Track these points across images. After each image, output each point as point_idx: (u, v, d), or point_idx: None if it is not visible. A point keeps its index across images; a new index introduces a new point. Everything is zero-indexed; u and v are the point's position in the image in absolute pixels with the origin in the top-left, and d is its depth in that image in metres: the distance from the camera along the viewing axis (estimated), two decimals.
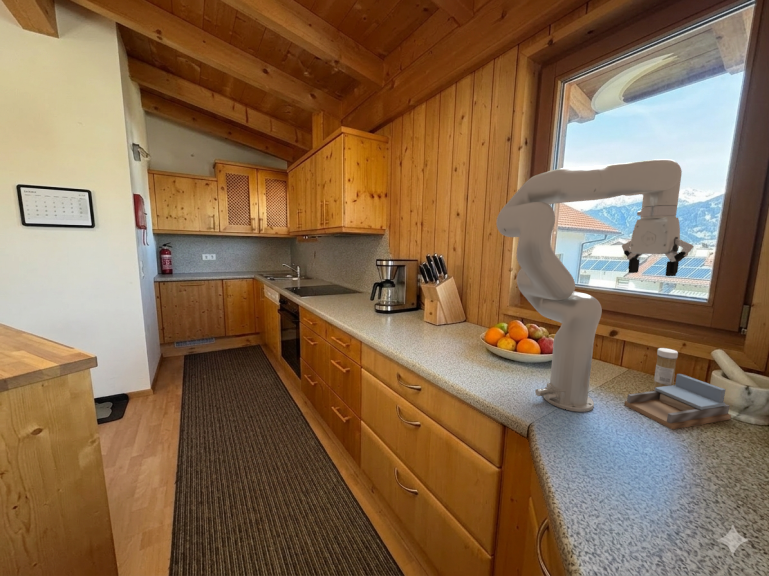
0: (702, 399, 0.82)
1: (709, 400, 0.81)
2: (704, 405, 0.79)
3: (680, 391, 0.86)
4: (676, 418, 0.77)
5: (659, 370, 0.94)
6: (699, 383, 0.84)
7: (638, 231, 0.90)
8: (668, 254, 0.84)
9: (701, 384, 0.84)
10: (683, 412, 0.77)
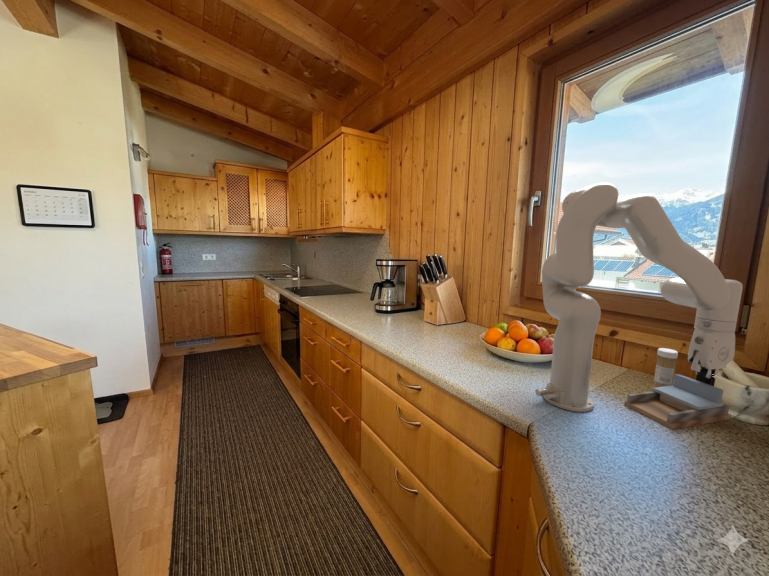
0: (699, 400, 0.81)
1: (707, 400, 0.81)
2: (702, 405, 0.79)
3: (678, 391, 0.86)
4: (676, 418, 0.77)
5: (659, 370, 0.94)
6: (697, 383, 0.84)
7: (716, 346, 0.80)
8: (717, 369, 0.84)
9: (699, 384, 0.83)
10: (683, 412, 0.77)
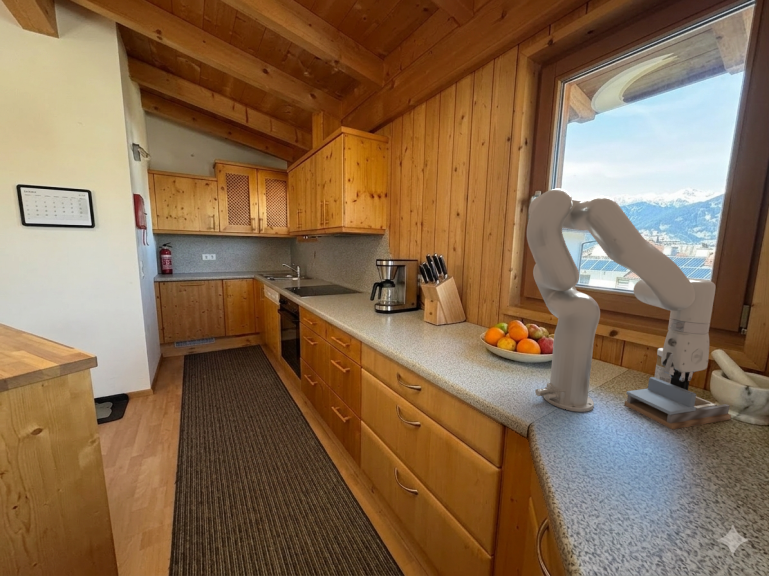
0: (672, 404, 0.79)
1: (680, 405, 0.79)
2: (674, 410, 0.76)
3: (652, 395, 0.84)
4: (676, 418, 0.77)
5: (659, 370, 0.94)
6: (670, 387, 0.82)
7: (689, 348, 0.78)
8: (691, 372, 0.81)
9: (672, 388, 0.81)
10: None
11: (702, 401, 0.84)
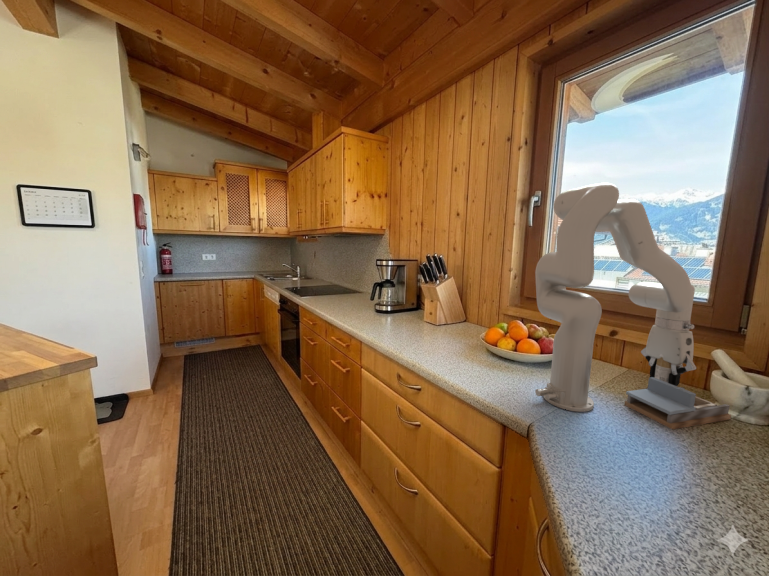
0: (672, 404, 0.79)
1: (679, 405, 0.79)
2: (673, 410, 0.76)
3: (651, 395, 0.84)
4: (676, 418, 0.77)
5: (659, 369, 0.94)
6: (670, 387, 0.82)
7: None
8: None
9: (672, 388, 0.81)
10: None
11: (702, 401, 0.84)
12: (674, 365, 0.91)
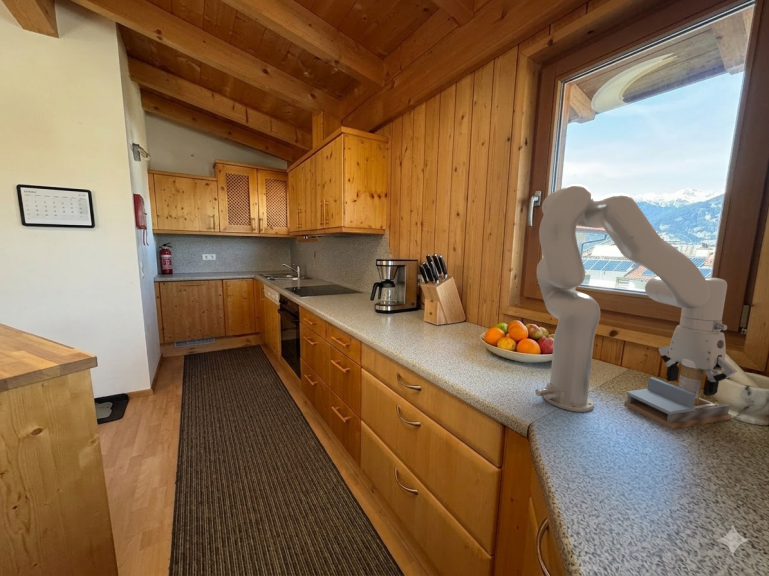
0: (672, 404, 0.79)
1: (679, 405, 0.79)
2: (673, 410, 0.76)
3: (651, 395, 0.84)
4: (676, 418, 0.77)
5: (683, 381, 0.83)
6: (670, 387, 0.82)
7: None
8: None
9: (672, 388, 0.81)
10: None
11: (702, 401, 0.84)
12: (708, 370, 0.79)
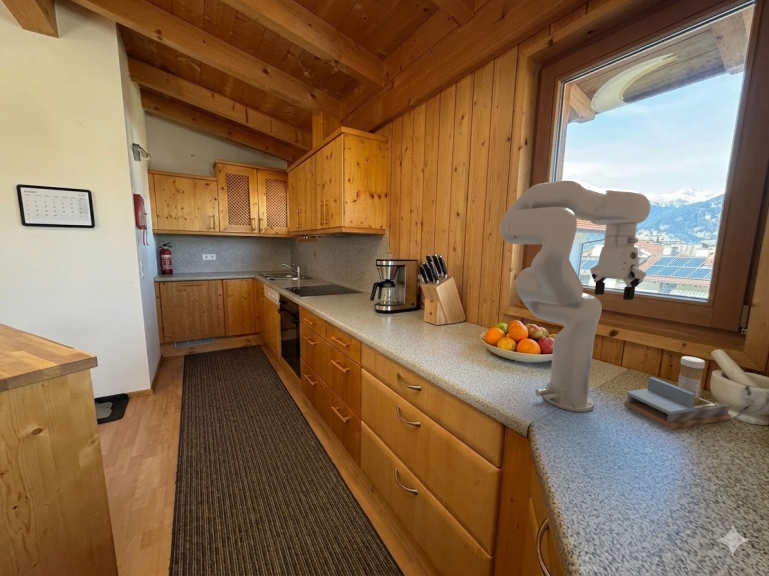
0: (672, 404, 0.79)
1: (679, 405, 0.79)
2: (673, 410, 0.76)
3: (651, 395, 0.84)
4: (676, 418, 0.77)
5: (683, 381, 0.83)
6: (670, 387, 0.82)
7: None
8: None
9: (672, 388, 0.81)
10: None
11: (702, 401, 0.84)
12: (625, 278, 0.93)
